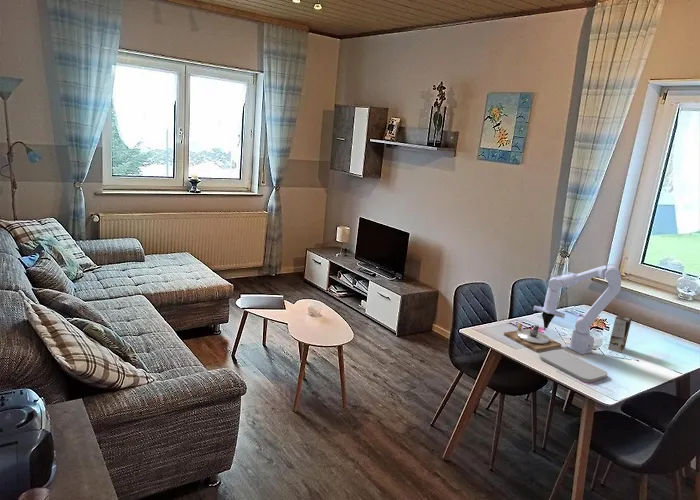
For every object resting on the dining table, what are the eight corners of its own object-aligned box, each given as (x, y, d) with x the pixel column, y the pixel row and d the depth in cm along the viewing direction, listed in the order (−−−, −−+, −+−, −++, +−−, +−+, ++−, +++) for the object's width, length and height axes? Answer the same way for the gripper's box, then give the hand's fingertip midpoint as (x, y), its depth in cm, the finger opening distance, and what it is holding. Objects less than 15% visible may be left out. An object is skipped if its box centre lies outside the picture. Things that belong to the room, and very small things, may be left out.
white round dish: (555, 342, 245) (557, 333, 244) (534, 345, 238) (535, 337, 237) (531, 330, 258) (532, 322, 257) (510, 333, 250) (511, 325, 249)
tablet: (557, 353, 238) (558, 348, 237) (609, 378, 217) (610, 373, 216) (535, 358, 229) (536, 353, 229) (586, 385, 208) (587, 380, 207)
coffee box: (621, 353, 245) (629, 322, 241) (607, 348, 249) (614, 318, 245) (625, 348, 252) (632, 317, 248) (611, 343, 256) (618, 314, 252)
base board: (560, 347, 244) (563, 336, 243) (535, 351, 236) (537, 341, 234) (528, 331, 261) (530, 321, 260) (503, 335, 252) (505, 324, 251)
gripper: (533, 299, 247) (528, 325, 250) (564, 307, 239) (558, 334, 242) (537, 296, 253) (532, 321, 256) (568, 304, 245) (562, 330, 248)
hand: (545, 327), depth 249 cm, fingers closed
